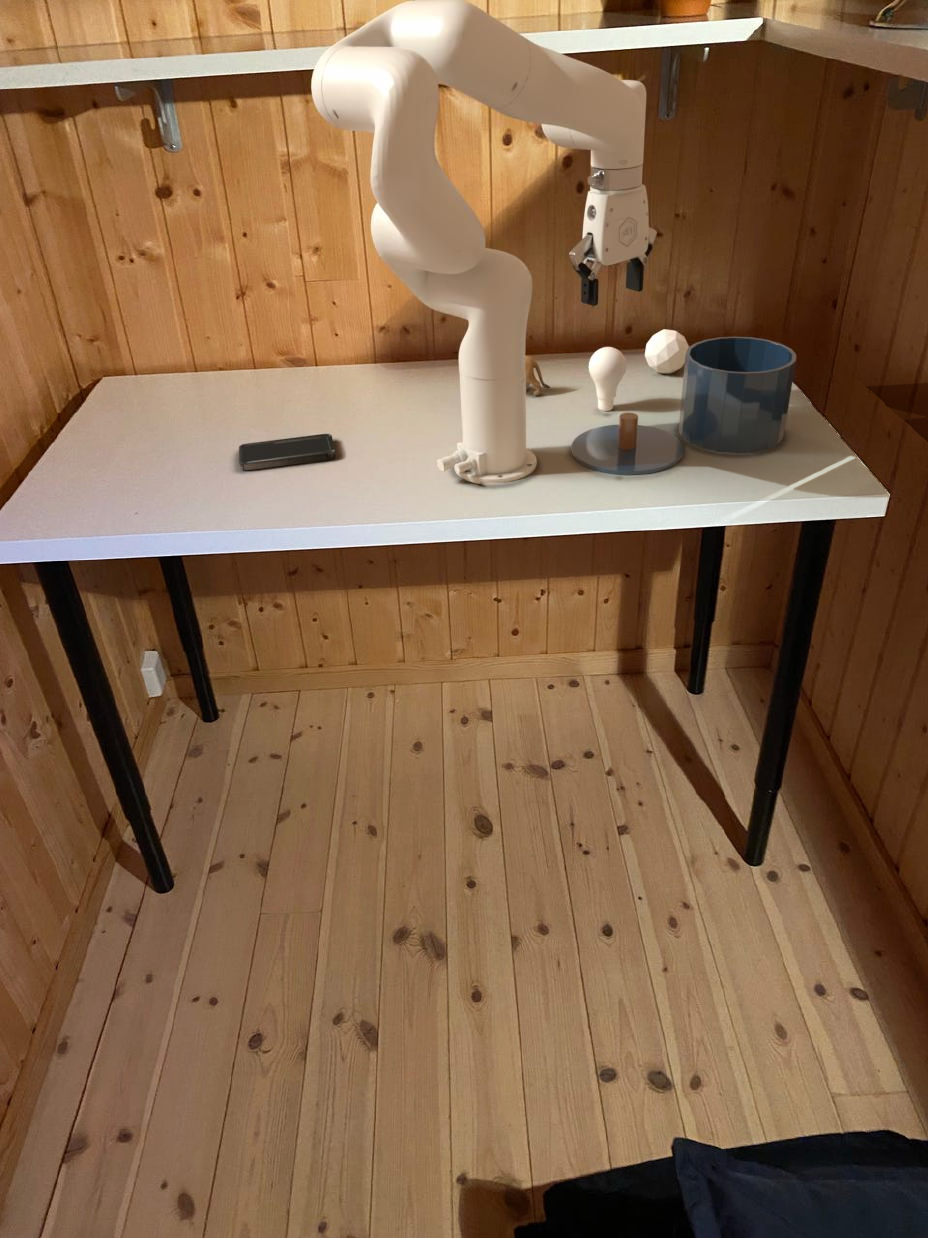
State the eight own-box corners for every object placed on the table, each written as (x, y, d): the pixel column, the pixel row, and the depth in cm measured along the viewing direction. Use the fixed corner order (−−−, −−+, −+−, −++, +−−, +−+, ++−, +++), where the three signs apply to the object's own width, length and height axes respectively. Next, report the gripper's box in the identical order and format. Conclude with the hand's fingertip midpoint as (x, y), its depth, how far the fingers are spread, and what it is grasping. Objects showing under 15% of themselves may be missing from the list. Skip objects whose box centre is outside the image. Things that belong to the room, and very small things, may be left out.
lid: (626, 489, 132) (629, 450, 129) (548, 452, 144) (549, 414, 140) (706, 455, 140) (710, 416, 137) (626, 422, 152) (628, 386, 148)
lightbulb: (622, 404, 158) (626, 341, 151) (624, 418, 153) (628, 354, 146) (587, 404, 158) (589, 341, 152) (587, 419, 153) (589, 354, 147)
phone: (335, 452, 145) (238, 464, 143) (336, 458, 145) (240, 471, 143) (331, 432, 151) (238, 443, 149) (332, 438, 152) (240, 450, 150)
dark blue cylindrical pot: (737, 465, 137) (748, 381, 129) (657, 433, 148) (664, 353, 140) (804, 435, 144) (818, 354, 137) (724, 406, 155) (733, 329, 148)
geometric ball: (653, 387, 170) (629, 354, 167) (673, 360, 174) (649, 327, 171) (684, 377, 164) (659, 342, 161) (704, 348, 167) (680, 314, 164)
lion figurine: (468, 400, 162) (466, 350, 157) (467, 389, 167) (465, 340, 162) (551, 395, 163) (552, 345, 157) (548, 384, 167) (548, 335, 162)
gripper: (590, 192, 128) (588, 315, 138) (676, 171, 136) (668, 289, 146) (554, 185, 133) (554, 304, 143) (639, 165, 141) (634, 279, 151)
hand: (612, 296), depth 145 cm, fingers open, 9 cm apart
